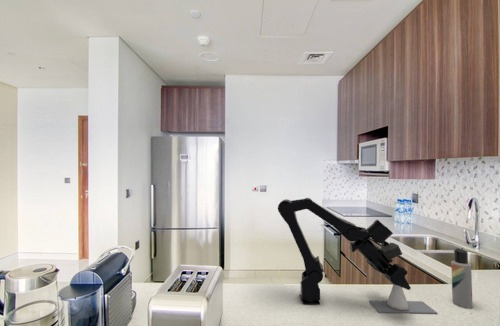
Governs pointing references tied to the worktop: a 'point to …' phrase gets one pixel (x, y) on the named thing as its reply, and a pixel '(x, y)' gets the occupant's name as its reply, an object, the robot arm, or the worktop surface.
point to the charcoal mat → (414, 308)
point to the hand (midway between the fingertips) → (401, 283)
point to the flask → (397, 299)
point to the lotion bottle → (461, 279)
